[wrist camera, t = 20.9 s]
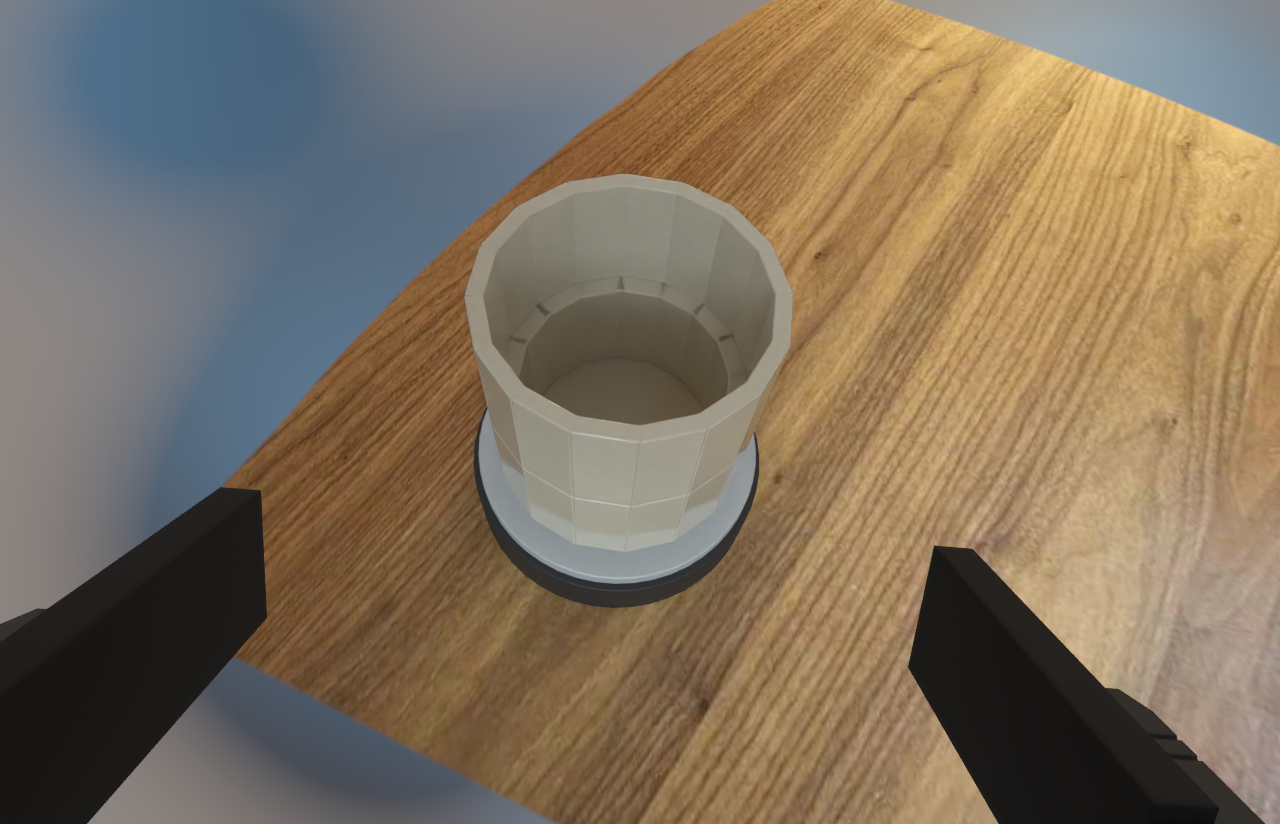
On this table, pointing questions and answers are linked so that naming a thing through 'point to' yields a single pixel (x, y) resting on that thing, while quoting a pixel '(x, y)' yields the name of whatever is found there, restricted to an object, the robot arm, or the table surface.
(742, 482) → the scale
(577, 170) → the table surface
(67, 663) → the robot arm
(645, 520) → the faceted beige cup
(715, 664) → the table surface
